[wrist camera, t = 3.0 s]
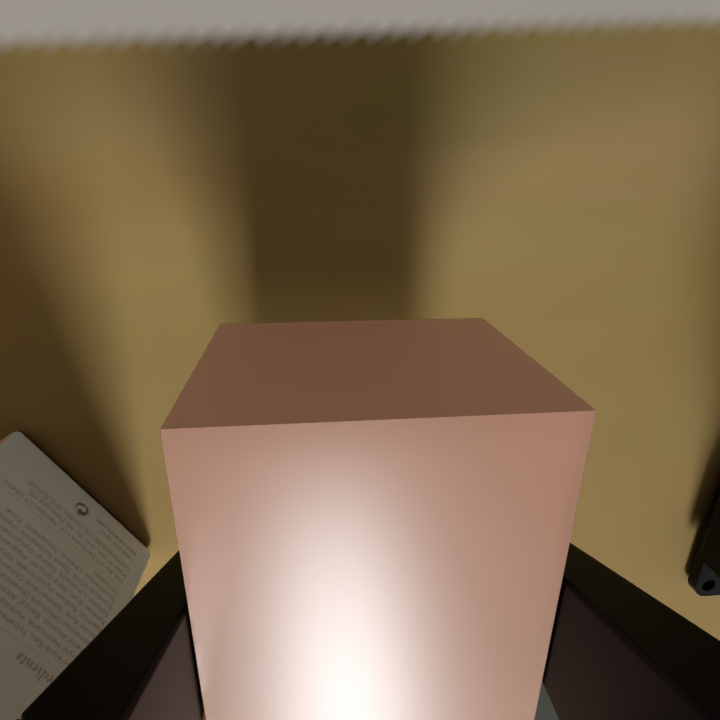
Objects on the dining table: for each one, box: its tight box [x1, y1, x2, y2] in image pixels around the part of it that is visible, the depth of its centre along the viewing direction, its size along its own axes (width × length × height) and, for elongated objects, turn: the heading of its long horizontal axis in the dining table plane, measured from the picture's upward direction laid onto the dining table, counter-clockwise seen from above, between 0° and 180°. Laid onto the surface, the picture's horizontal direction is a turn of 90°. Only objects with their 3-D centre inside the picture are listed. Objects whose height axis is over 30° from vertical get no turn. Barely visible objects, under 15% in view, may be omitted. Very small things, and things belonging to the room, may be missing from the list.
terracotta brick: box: [160, 318, 596, 720], centre depth 9 cm, size 5×7×4 cm
